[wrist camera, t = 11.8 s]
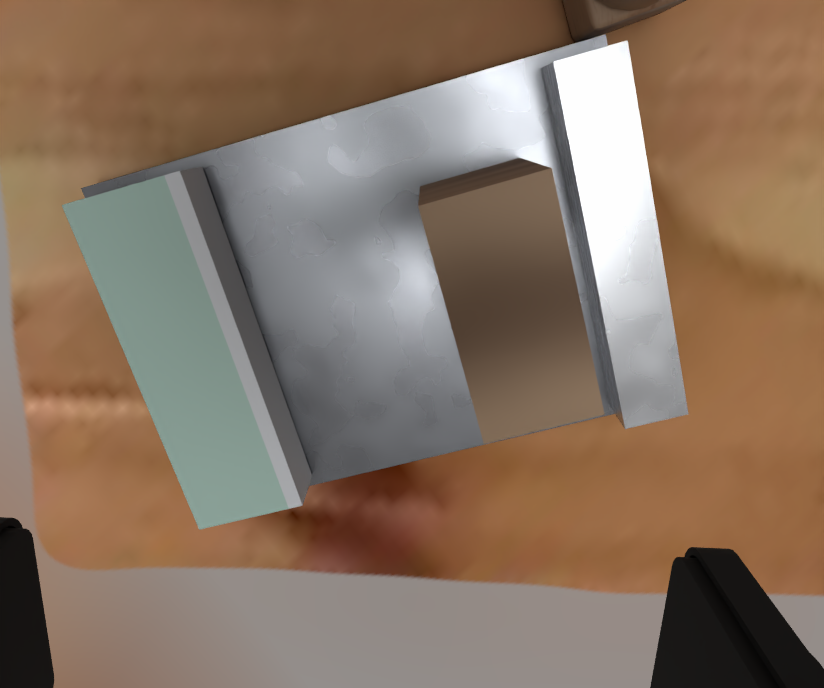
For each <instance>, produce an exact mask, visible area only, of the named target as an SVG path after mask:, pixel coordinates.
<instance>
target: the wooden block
mask: <svg viewBox="0 0 824 688" xmlns="http://www.w3.org/2000/svg"><path fill="white" fill-rule="evenodd" d="M684 1H686V0H563V3H564V7H565V11H566V15H567V19H568V23H569V27H570V31H571V36H572V38H573V39H574V40H575V42H581V41H585V40H588V39H591V38H594V37H597V36H599V35H602V34H605V33H608V32H610V31H613V30H616V29H619V28H621V27H624V26H627V25H630V24H632V23H635V22H638V21H641V20H643V19H646V18H649V17H652V16H654V15H657V14H659V13H662V12H664V11H666V10H668V9H670V8H672V7H674V6H676V5H678V4H680V3H682V2H684Z"/></svg>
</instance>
